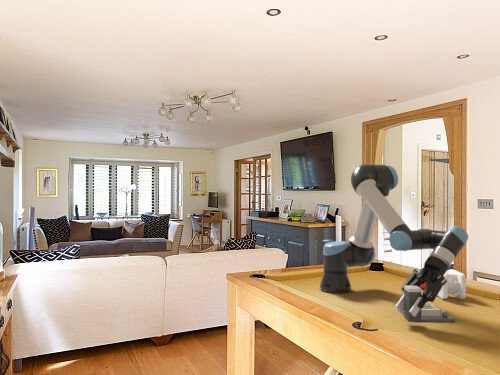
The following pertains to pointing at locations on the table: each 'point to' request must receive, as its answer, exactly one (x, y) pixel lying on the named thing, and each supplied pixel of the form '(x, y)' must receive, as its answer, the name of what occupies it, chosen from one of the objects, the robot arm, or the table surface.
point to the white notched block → (453, 285)
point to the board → (433, 314)
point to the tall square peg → (411, 302)
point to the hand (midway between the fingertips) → (404, 311)
